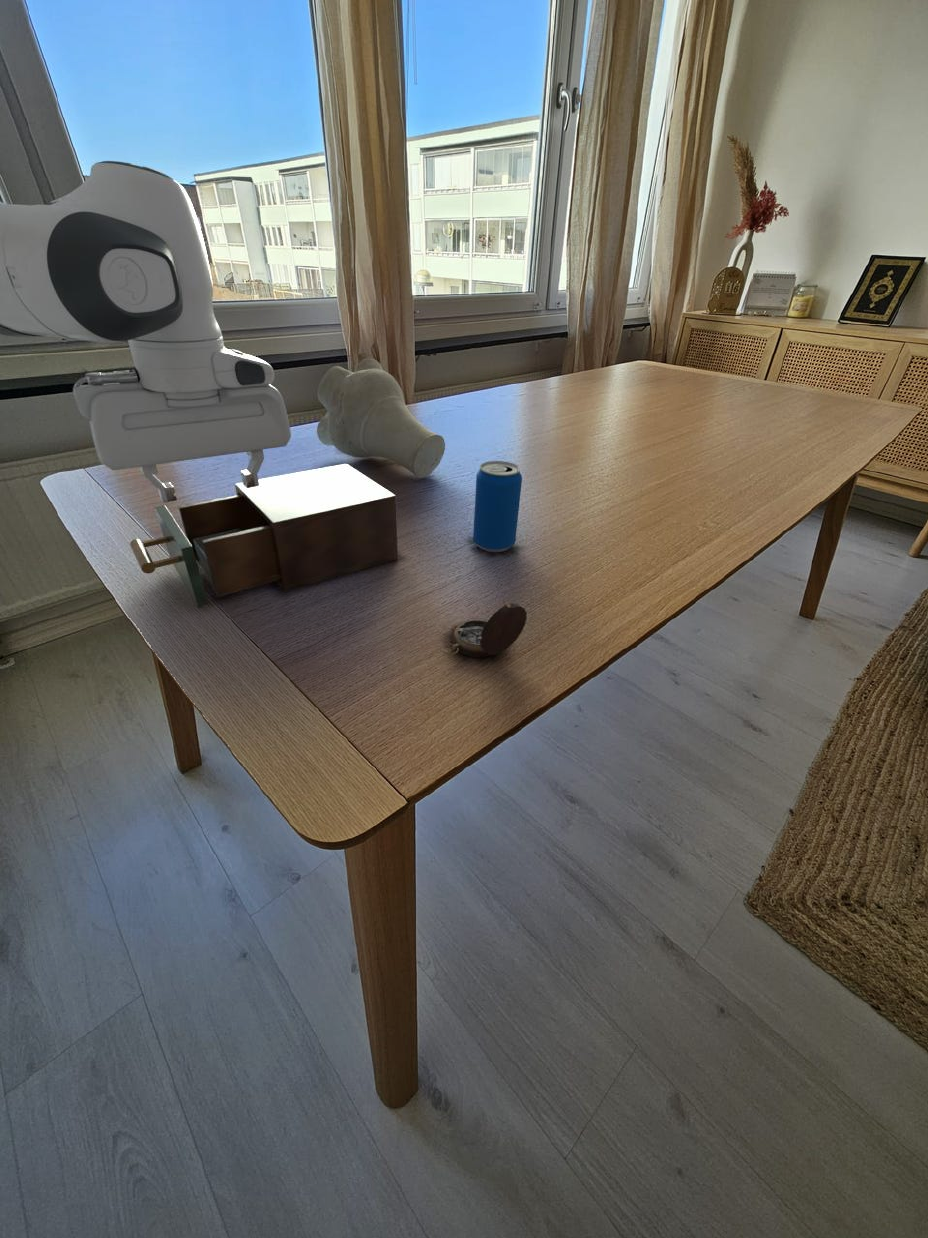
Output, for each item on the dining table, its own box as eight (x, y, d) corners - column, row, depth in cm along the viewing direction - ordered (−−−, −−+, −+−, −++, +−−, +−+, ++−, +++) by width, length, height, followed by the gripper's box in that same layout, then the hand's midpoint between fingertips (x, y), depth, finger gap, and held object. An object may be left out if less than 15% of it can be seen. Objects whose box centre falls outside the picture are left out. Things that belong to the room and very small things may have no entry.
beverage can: (522, 550, 81) (531, 472, 74) (484, 557, 78) (490, 477, 71) (502, 532, 85) (508, 457, 78) (465, 538, 83) (469, 462, 76)
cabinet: (285, 592, 68) (273, 522, 63) (247, 547, 78) (234, 483, 72) (398, 559, 77) (395, 495, 71) (351, 522, 86) (346, 463, 81)
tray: (217, 584, 65) (212, 567, 64) (197, 555, 71) (192, 538, 70) (265, 571, 68) (262, 554, 67) (242, 544, 74) (239, 528, 73)
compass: (478, 620, 65) (482, 567, 61) (525, 652, 60) (532, 598, 56) (425, 644, 61) (426, 590, 56) (472, 681, 56) (475, 625, 52)
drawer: (160, 618, 61) (139, 558, 56) (137, 569, 70) (117, 513, 65) (321, 572, 71) (314, 518, 66) (283, 534, 80) (275, 484, 75)
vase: (496, 406, 100) (392, 345, 110) (420, 405, 83) (307, 334, 93) (458, 508, 112) (368, 445, 122) (385, 524, 96) (288, 451, 105)
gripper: (69, 379, 49) (117, 520, 57) (287, 366, 59) (302, 486, 67) (62, 367, 53) (108, 500, 61) (267, 357, 63) (283, 471, 71)
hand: (211, 492), depth 64 cm, fingers open, 8 cm apart
